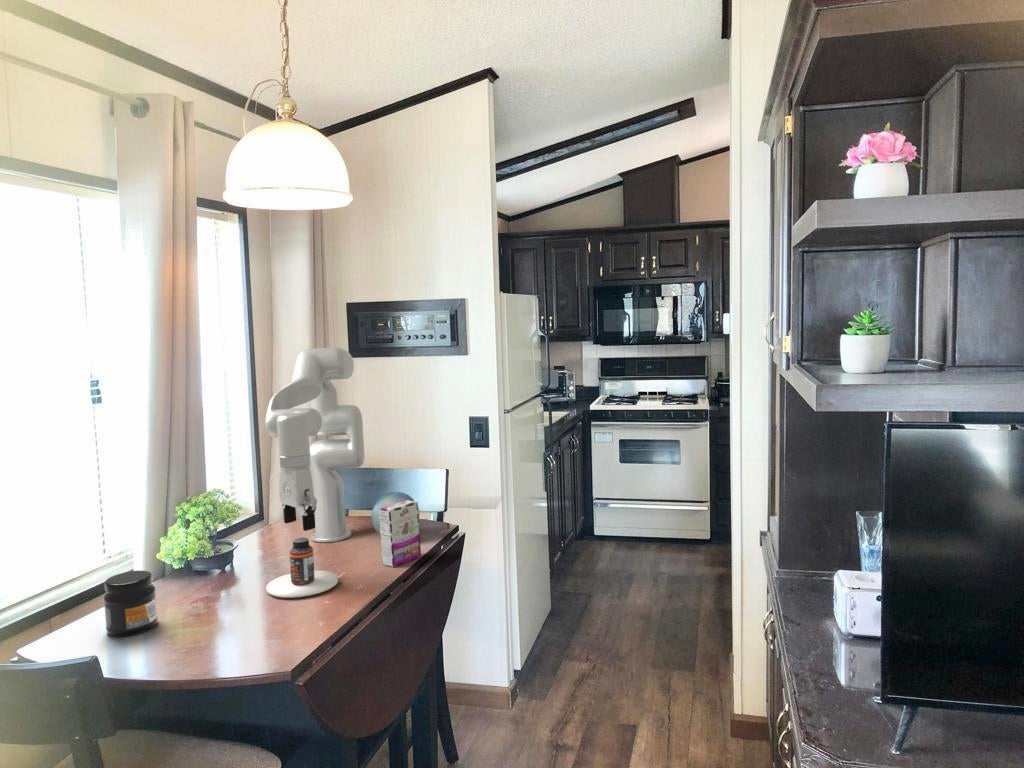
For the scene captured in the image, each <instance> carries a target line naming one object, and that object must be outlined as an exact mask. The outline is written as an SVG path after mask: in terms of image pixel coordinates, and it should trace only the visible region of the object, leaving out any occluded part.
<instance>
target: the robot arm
mask: <svg viewBox="0 0 1024 768" xmlns="http://www.w3.org/2000/svg"><path fill="white" fill-rule="evenodd" d="M296 357H297V358H296V360H295V365H294V369H293V373H292V379H291V382H290V383H288V384H286V385H284V386H283V387H282V388H281V389H279V390H278V391H277V392H276V393H274V395H273V396H272V397H271V398H270V400H269V403H268V407H267V411H266V413H265V421H264V426H265V430H266V433H267V435H269V436H270V437H273V438H278V439H277V440H278V453H279V467H280V468H279V474H278V475H279V479H278V485H279V486H278V487H279V488H278V489H279V492H278V493H279V500H280V502H281V503H282V505H281V506H282V509H283V522H284V524H289V523H295V522H296V521H297V511H296V510H297V509H298V508H300V509H301V511H302V513H303V514H302V515H301V516H302V517H301V518H302V530H303V531H304V532H306V531H310V530H313V529H315V532H313V533H311V535H310V540H311V541H313V542H316V543H333V542H339V541H343V540H346V539H348V538H350V537H351V536H352V531H351V530H350V529H348V528H347V525H346V507H345V490H344V489H345V488H344V486H345V485H344V481H343V479H342V477H341V476H340V475H339V473H338V472H337V471H336V470H346V469H348V470H349V469H358V468H360V467H361V466H363V465H364V462H365V441H364V423H363V417H362V416H363V415H362V411H361V410H360V408H359V407H358V406H357V405H355V404H353V405H352V404H343V405H339V404H338V403H339V402H338V392H337V389H336V387H335V385H334V384H333V382H332V381H331V380H348V379H349V378H351V377H352V375H353V374H354V370H355V367H354V366H355V365H354V359H353V356H352V355H351V353H350V352H349V351H347V350H345V349H343V348H341V347H320V348H316V347H315V348H307V349H304V350H302V351H301V352H300V353H298V355H297V356H296ZM306 403H309V407H304V408H301V407H300V408H297V407H298V406H301V405H303V404H306ZM295 407H296V408H295ZM315 435H317V436H321V437H324V436H325V437H326V436H327V437H328V436H347V437H348V438H342V439H341V438H340V439H339V438H338V439H336V438H334V439H321V440H320V439H319V440H316V441H314V442H312V443H311V444H310V438H309V437H313V436H315ZM306 507H307V508H306Z"/></svg>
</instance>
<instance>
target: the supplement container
mask: <svg viewBox="0 0 1024 768" xmlns="http://www.w3.org/2000/svg"><path fill="white" fill-rule="evenodd" d="M156 589H157V588H156V586H155V584H153V574H152V572H150V571H148V570H131V571H126V572H121V573H118V574H115V575H112V576H110V577H108V578H107V579H106V580H105V581H104V590H105V593H104V594H103V597H102V598H103V602H104V614H105V615H104V616H105V629H106V632H107V634H109V635H111V636H114V637H130V636H129V635H131V636H134V634H135V635H138V633H139V634H143V633H145V632H147V631H149V630H150V629H152V628H153V627H154V626H156V624H157V622H158V621H159V619H158V618H159V617H158V609H157V599H156V597H157V596H156V591H157V590H156ZM144 631H145V632H144Z"/></svg>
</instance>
